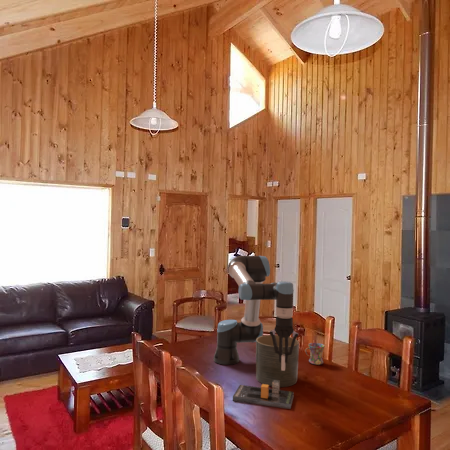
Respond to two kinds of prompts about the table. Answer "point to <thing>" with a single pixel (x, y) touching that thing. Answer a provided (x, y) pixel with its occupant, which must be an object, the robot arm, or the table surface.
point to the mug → (315, 353)
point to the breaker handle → (264, 391)
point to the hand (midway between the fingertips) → (283, 369)
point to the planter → (275, 362)
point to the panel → (274, 399)
